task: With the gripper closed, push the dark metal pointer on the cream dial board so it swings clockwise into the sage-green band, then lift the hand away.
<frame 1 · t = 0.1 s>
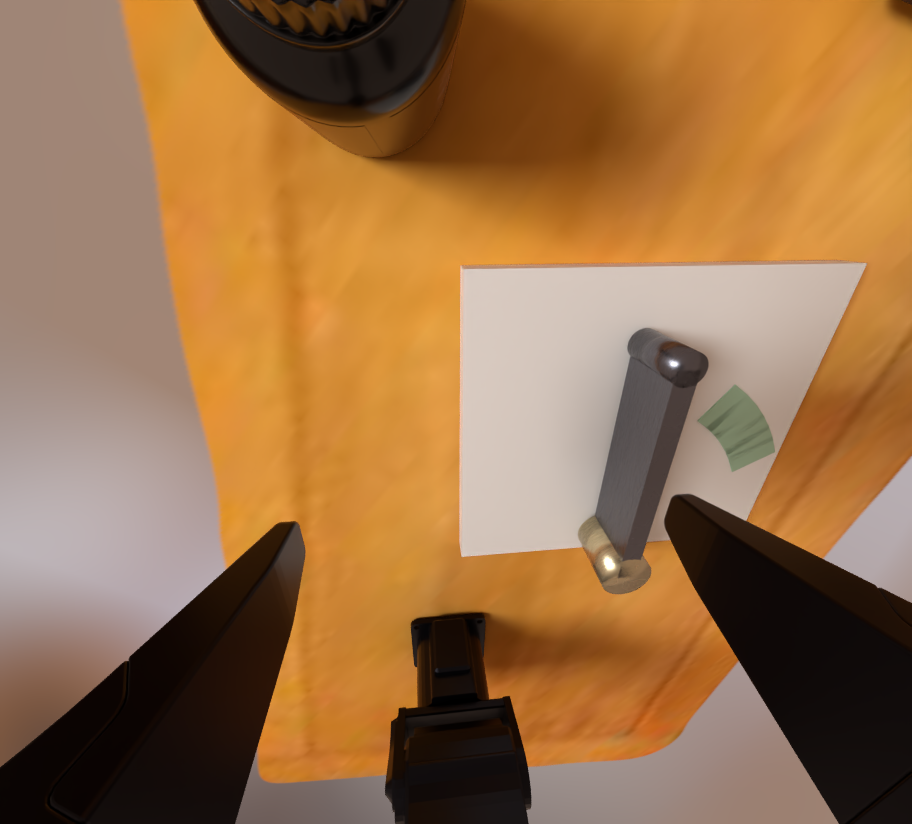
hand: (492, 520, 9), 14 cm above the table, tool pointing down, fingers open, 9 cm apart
dial board: (622, 421, 26), on the table
supplement bottle: (367, 65, 16), on the table
pointer: (633, 473, 23), point 4 cm above the table, hinge at 0.0°
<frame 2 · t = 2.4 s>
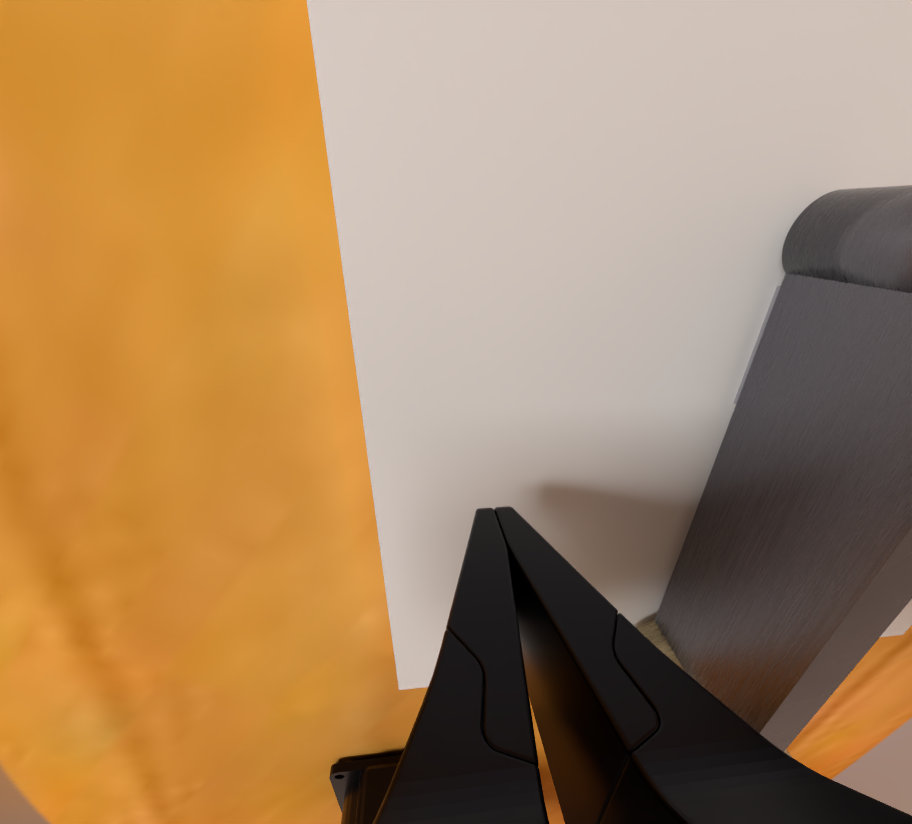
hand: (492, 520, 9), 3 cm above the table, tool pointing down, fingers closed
dial board: (715, 435, 12), on the table
pointer: (770, 563, 10), point 4 cm above the table, hinge at 0.0°
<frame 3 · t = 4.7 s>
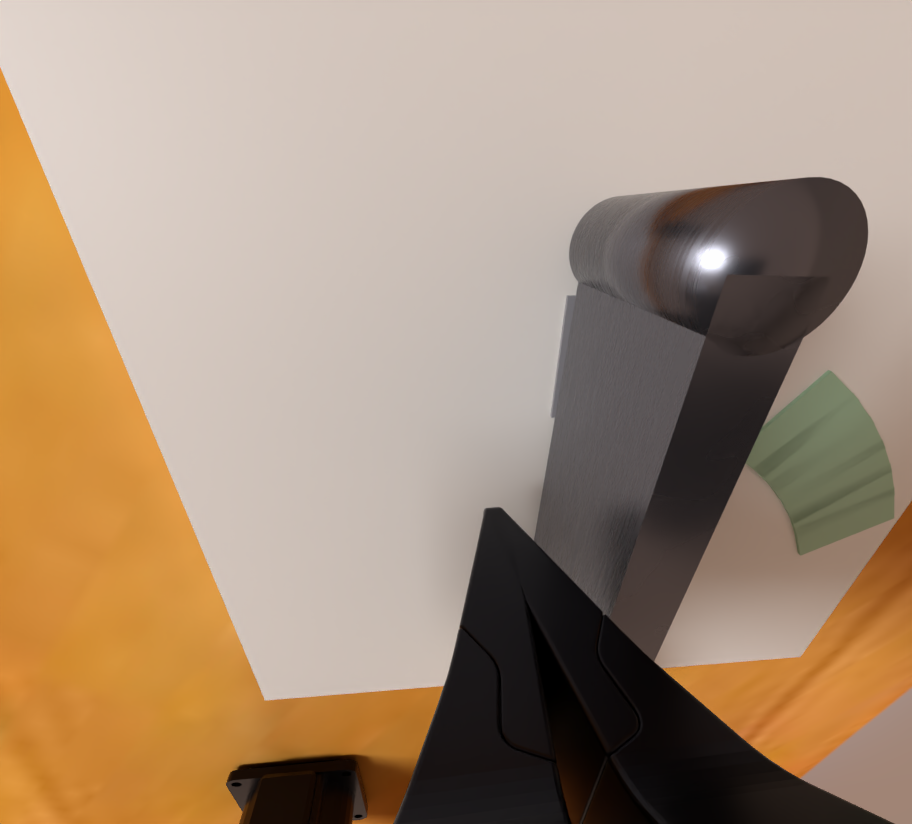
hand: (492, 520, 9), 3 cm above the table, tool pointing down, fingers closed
dial board: (568, 448, 12), on the table
pointer: (582, 584, 9), point 4 cm above the table, hinge at -1.6°, touching gripper
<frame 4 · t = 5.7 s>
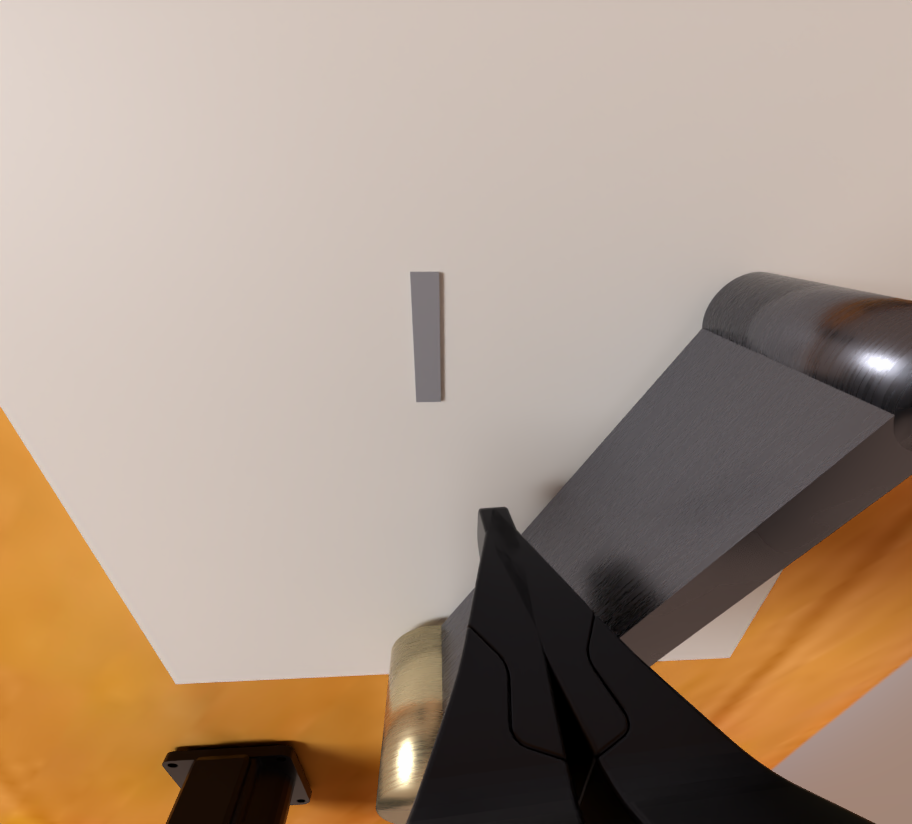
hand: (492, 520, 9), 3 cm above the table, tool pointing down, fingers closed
dial board: (463, 436, 12), on the table
pointer: (565, 594, 9), point 4 cm above the table, hinge at -29.8°, touching gripper
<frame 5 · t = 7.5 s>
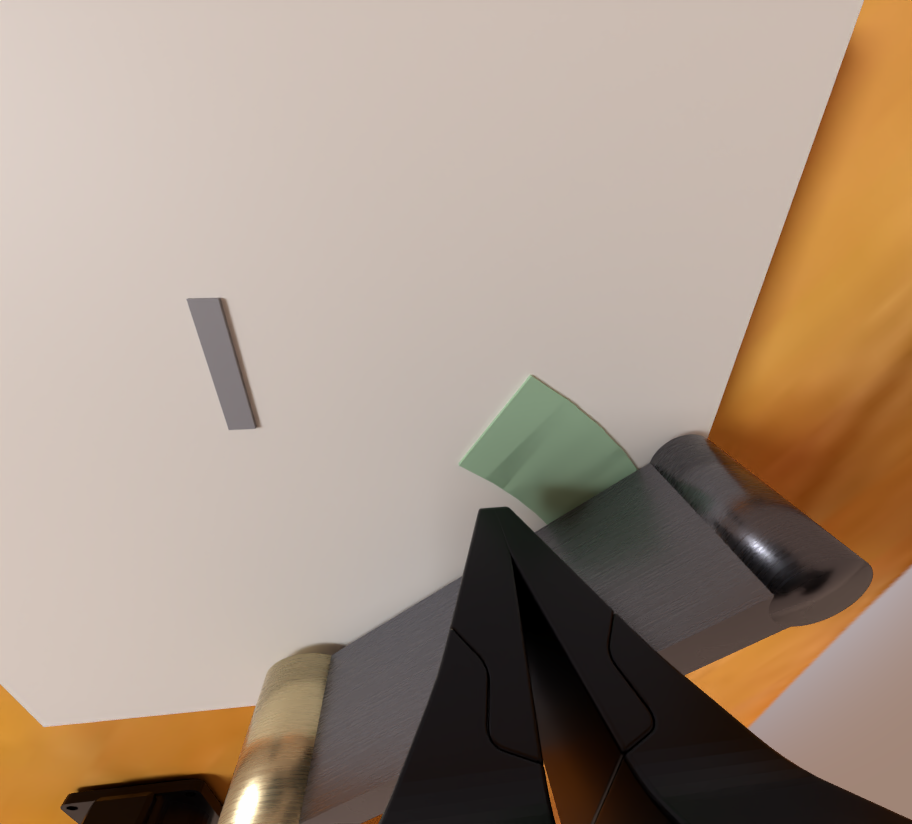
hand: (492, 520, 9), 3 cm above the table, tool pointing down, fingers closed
dial board: (316, 458, 11), on the table
pointer: (472, 657, 10), point 4 cm above the table, hinge at -52.5°, touching gripper
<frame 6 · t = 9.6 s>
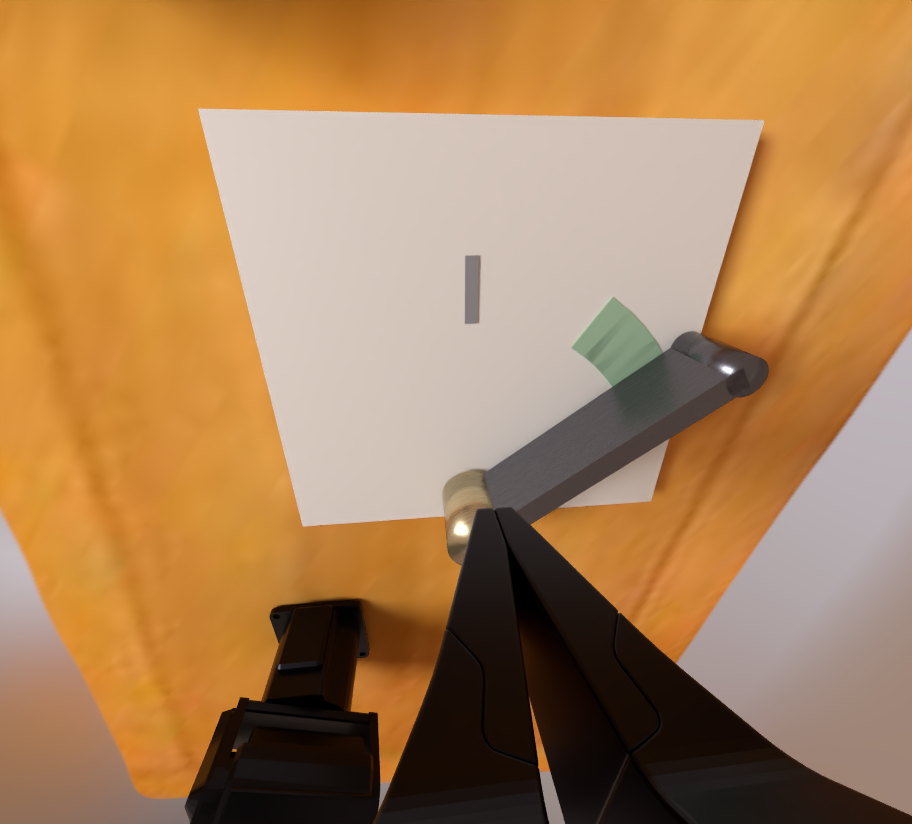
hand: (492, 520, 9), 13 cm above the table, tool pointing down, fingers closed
dial board: (484, 352, 21), on the table
pointer: (578, 449, 19), point 4 cm above the table, hinge at -52.7°
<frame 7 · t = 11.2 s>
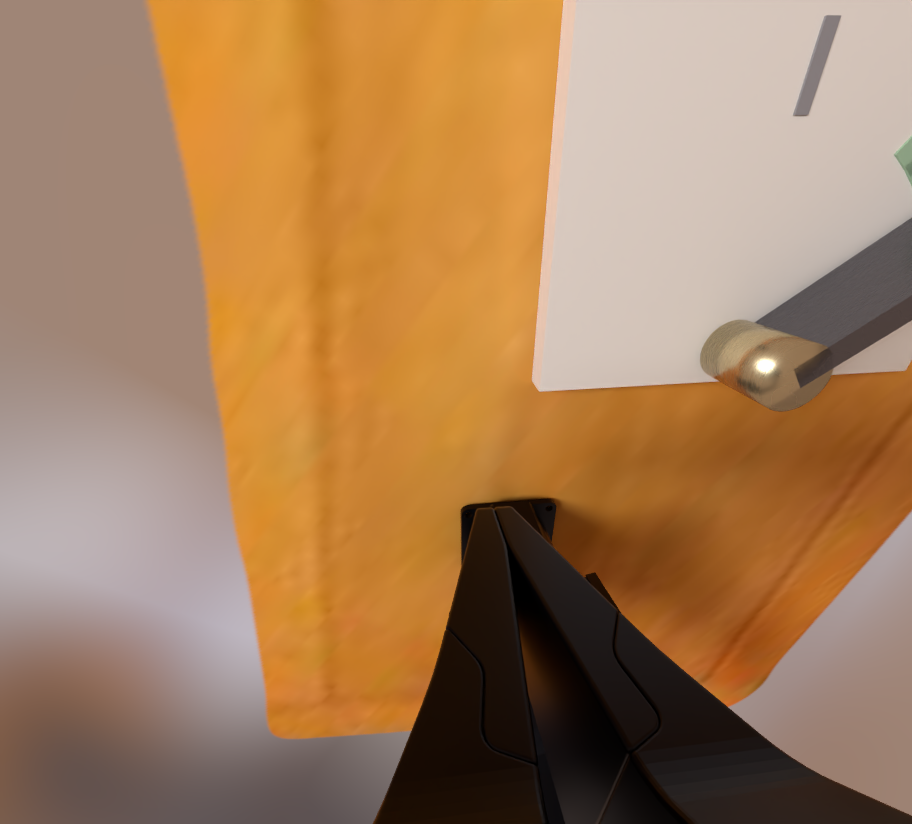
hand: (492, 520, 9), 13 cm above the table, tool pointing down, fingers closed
dial board: (773, 174, 18), on the table
pointer: (903, 271, 17), point 4 cm above the table, hinge at -52.7°
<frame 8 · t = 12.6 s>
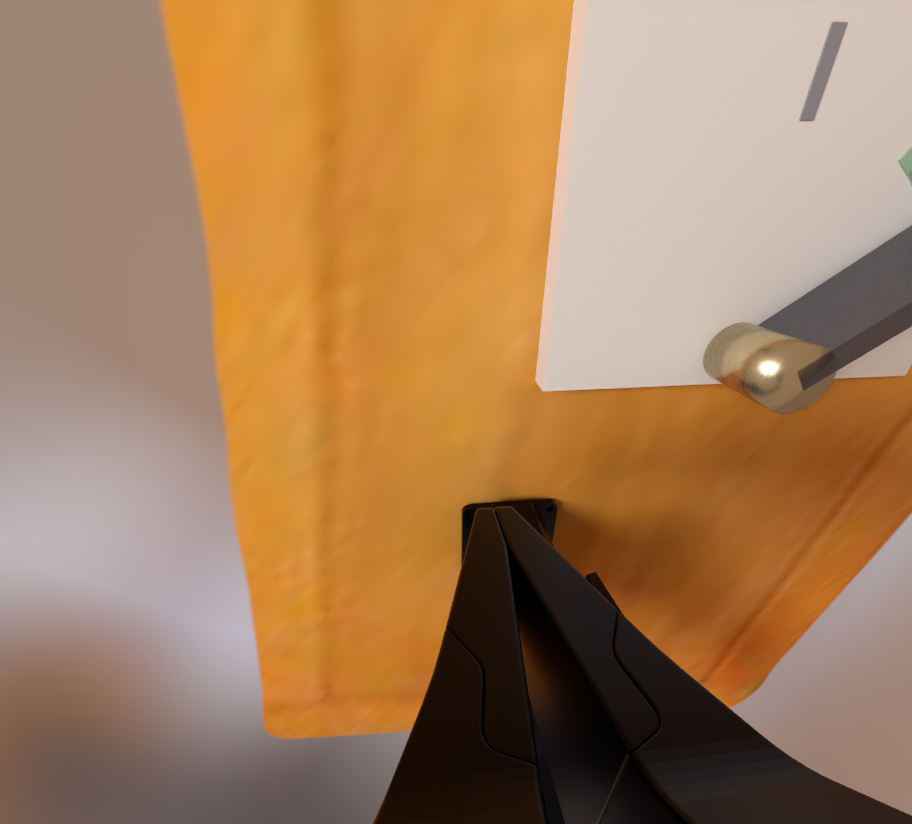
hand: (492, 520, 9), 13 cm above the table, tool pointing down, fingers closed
dial board: (778, 179, 18), on the table
pointer: (905, 276, 17), point 4 cm above the table, hinge at -52.7°
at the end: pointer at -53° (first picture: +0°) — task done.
